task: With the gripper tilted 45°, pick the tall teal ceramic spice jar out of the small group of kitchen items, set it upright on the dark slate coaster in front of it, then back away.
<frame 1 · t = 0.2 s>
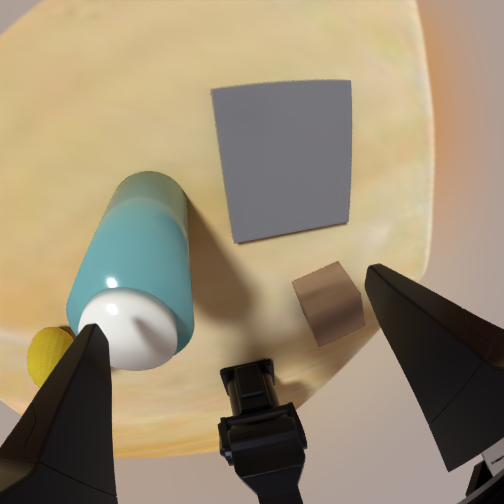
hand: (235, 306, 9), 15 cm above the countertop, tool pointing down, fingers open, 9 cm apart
spice jar: (148, 208, 22), on the countertop
lemon: (61, 328, 27), on the countertop
slate coaster: (287, 158, 22), on the countertop
walnut block: (319, 287, 31), on the countertop
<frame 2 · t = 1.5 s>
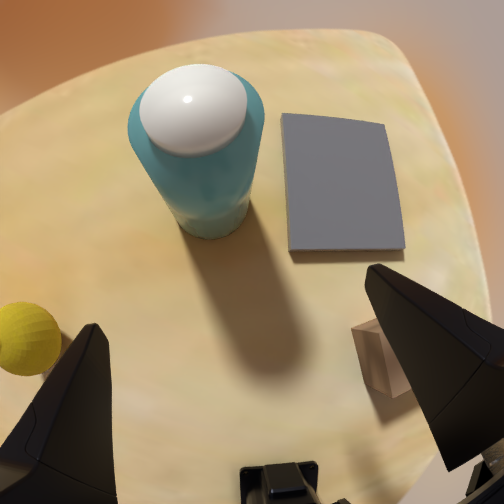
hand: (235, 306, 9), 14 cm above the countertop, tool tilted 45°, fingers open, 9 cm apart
spice jar: (210, 202, 24), on the countertop
lemon: (52, 335, 21), on the countertop
slate coaster: (341, 181, 25), on the countertop
walnut block: (383, 345, 23), on the countertop
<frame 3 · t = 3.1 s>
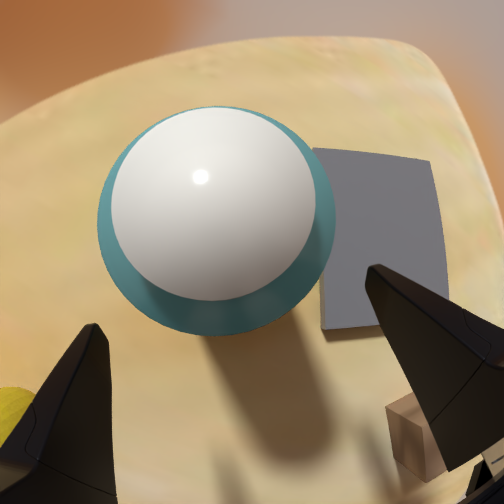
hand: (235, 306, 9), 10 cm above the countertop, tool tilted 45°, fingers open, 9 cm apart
spice jar: (224, 267, 19), on the countertop
lemon: (46, 412, 16), on the countertop
slate coaster: (383, 236, 20), on the countertop
walnut block: (416, 418, 18), on the countertop
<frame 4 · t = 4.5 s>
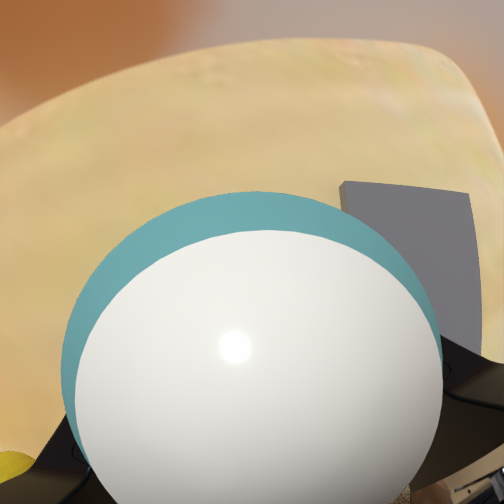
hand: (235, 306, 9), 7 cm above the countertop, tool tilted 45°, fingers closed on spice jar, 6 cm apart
spice jar: (239, 331, 16), on the countertop, touching gripper
lemon: (45, 469, 13), on the countertop
slate coaster: (419, 285, 17), on the countertop
walnut block: (436, 467, 15), on the countertop
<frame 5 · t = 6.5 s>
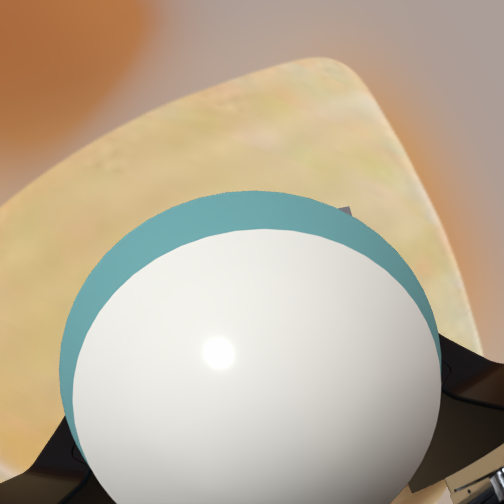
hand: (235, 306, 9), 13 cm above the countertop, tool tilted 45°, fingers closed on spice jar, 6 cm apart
spice jar: (238, 331, 16), point 6 cm above the countertop, touching gripper
when the fingers open (8 cm above the countertop, at t = 8.4 s): spice jar stays where it is, resting on slate coaster.
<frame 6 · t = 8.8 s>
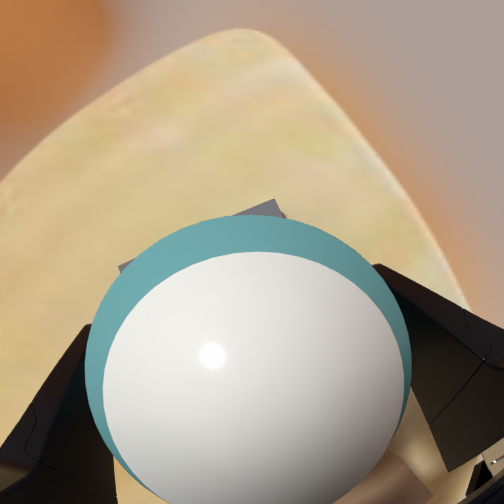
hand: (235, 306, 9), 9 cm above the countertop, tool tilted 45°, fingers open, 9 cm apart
spice jar: (237, 331, 16), point 1 cm above the countertop, touching slate coaster
slate coaster: (237, 328, 17), on the countertop
walnut block: (359, 474, 16), on the countertop
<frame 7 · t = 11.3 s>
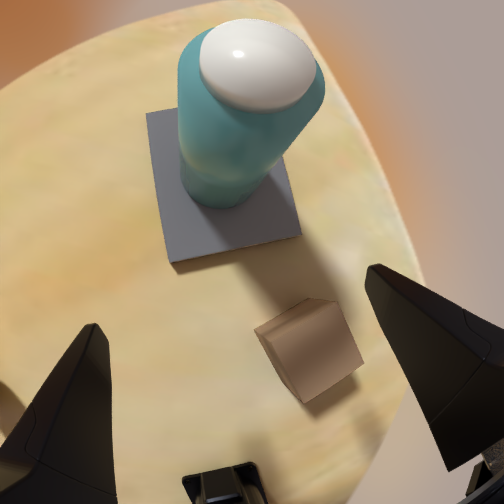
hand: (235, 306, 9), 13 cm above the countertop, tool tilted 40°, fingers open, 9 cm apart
spice jar: (220, 170, 22), point 1 cm above the countertop, touching slate coaster
slate coaster: (219, 173, 23), on the countertop
walnut block: (295, 340, 23), on the countertop
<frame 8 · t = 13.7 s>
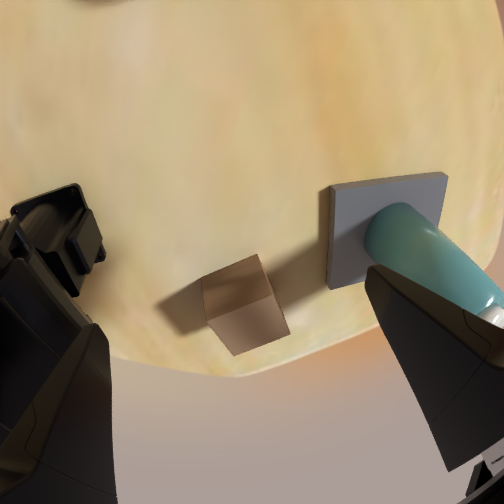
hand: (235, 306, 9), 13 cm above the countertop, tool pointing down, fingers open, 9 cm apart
spice jar: (392, 232, 25), point 1 cm above the countertop, touching slate coaster
slate coaster: (386, 227, 26), on the countertop
walnut block: (239, 285, 26), on the countertop
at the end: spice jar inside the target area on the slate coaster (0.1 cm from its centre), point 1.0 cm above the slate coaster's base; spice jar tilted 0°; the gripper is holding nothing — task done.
